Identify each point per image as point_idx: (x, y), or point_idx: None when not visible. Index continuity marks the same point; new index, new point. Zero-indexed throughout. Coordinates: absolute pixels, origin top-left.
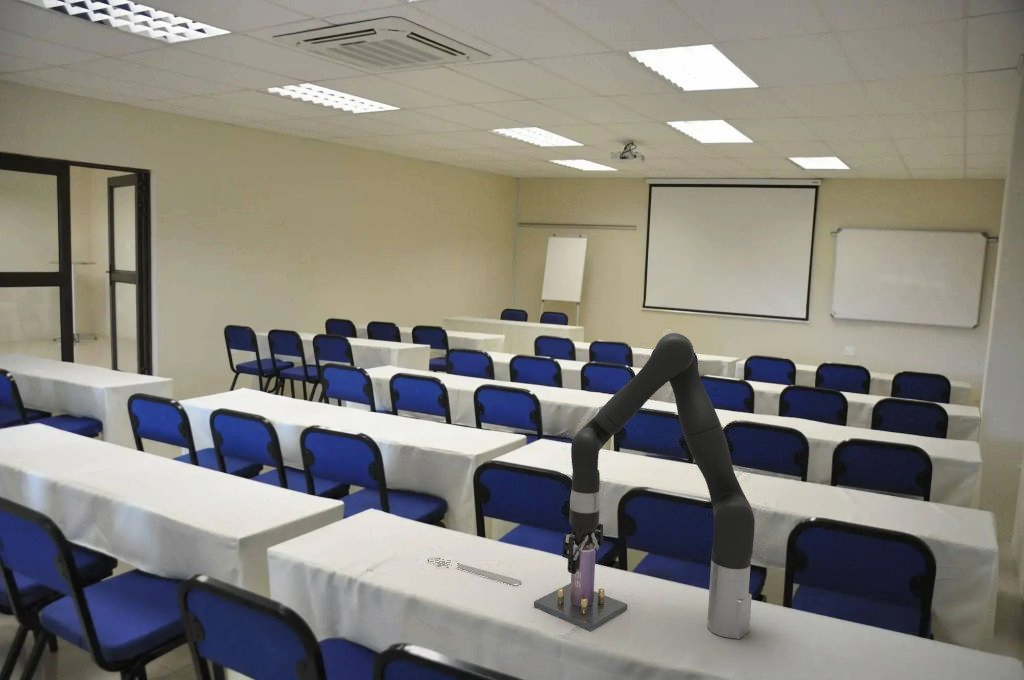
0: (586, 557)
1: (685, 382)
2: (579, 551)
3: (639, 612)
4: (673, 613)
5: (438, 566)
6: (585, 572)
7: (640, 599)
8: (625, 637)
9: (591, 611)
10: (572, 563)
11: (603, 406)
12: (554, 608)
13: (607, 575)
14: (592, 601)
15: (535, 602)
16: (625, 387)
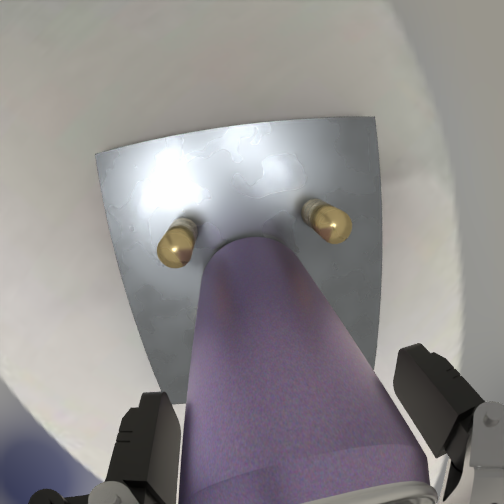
0: (396, 425)
1: None
2: (495, 467)
3: (83, 112)
4: (13, 57)
5: None
6: (340, 330)
7: (15, 194)
8: (289, 11)
9: (282, 197)
10: (474, 392)
11: None
12: (372, 301)
13: (26, 372)
14: (236, 241)
15: (373, 363)
16: None
